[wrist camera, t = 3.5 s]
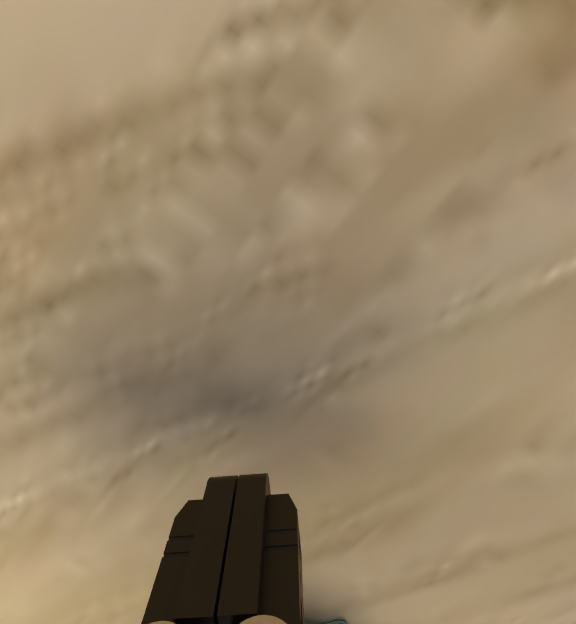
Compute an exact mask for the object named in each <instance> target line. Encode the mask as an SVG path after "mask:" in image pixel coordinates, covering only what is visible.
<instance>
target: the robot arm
mask: <svg viewBox="0 0 576 624" xmlns="http://www.w3.org/2000/svg"><path fill="white" fill-rule="evenodd" d="M141 624H304V614H303V586H302V557H301V545H300V535H299V525H298V514H297V508H296V507H295V505H294V503H293V501H292V499H291V498H290V496H289V494H276V495H271V493H270V485H269V477H268V474H267V473H265V474H250V475H239V477H238V476H223V477H210V478H209V479H208V482H207V486H206V490H205V494H204V498H203V500H188V502H187V503H186V504H185V505H184V507H183V508H182V509H181V510H180V512H179V513H178V514H177V516H176V517H175V519H174V522H173V525H172V528H171V532H170V535H169V541H167V544H166V547H165V551H164V557H162V560H161V563H160V566H159V570H158V573H157V576H156V579H155V582H154V585H153V589H152V592H151V595H150V598H149V601H148V604H147V607H146V611H145V614H144V617H143V620H142V623H141Z"/></svg>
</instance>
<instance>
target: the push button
mask: <svg viewBox="0 0 576 624" xmlns="http://www.w3.org/2000/svg"><path fill="white" fill-rule="evenodd" d="M325 624H346V623H345V622H344V621H340V620H338V621H333V622H331V623H325Z"/></svg>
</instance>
